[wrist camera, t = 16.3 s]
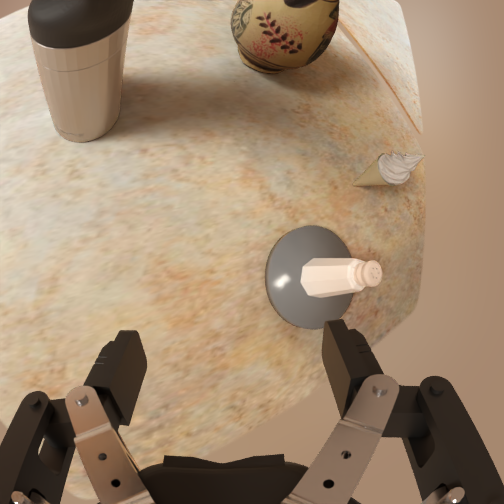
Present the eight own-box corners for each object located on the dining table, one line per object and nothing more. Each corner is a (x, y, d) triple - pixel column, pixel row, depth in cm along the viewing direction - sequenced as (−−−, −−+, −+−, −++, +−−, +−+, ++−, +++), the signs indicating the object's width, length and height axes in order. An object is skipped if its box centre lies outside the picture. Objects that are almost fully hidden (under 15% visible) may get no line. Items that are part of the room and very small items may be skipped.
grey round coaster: (278, 213, 41) (283, 210, 40) (355, 246, 46) (361, 244, 45) (253, 316, 38) (258, 317, 37) (337, 335, 43) (344, 336, 42)
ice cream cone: (341, 193, 46) (415, 163, 33) (342, 165, 47) (412, 130, 34) (364, 203, 48) (436, 178, 34) (365, 176, 49) (433, 146, 35)
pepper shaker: (310, 249, 41) (368, 237, 31) (337, 272, 42) (396, 266, 32) (292, 284, 39) (349, 281, 29) (321, 305, 41) (380, 308, 31)
